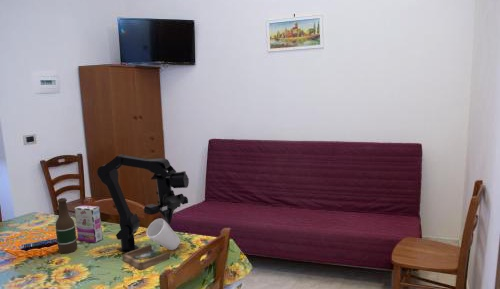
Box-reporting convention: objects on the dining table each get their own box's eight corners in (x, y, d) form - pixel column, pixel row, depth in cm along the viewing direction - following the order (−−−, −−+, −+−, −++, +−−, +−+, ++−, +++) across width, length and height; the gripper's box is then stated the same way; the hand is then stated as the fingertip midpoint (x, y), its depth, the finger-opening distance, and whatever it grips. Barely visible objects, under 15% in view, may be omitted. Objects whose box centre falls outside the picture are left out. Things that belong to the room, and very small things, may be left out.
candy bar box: (103, 239, 187) (99, 206, 185) (95, 243, 183) (92, 209, 180) (85, 236, 192) (81, 204, 189) (77, 240, 187) (73, 207, 184)
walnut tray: (122, 260, 163) (122, 254, 163) (150, 249, 172) (149, 244, 172) (140, 270, 153) (140, 264, 153) (169, 258, 162) (168, 252, 162)
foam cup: (179, 251, 166) (160, 235, 158) (162, 255, 170) (143, 239, 162) (185, 232, 172) (167, 216, 165) (168, 235, 176) (150, 220, 169)
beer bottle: (81, 248, 178) (75, 197, 174) (67, 255, 171) (60, 202, 167) (69, 246, 181) (63, 195, 177) (54, 252, 174) (47, 200, 170)
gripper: (155, 196, 154) (160, 234, 156) (193, 185, 167) (197, 220, 169) (141, 193, 162) (146, 229, 164) (178, 182, 175) (182, 216, 177)
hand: (169, 223), depth 168 cm, fingers closed
